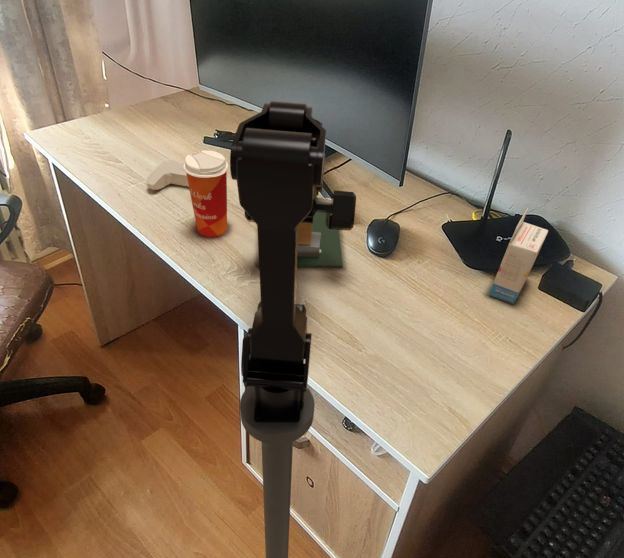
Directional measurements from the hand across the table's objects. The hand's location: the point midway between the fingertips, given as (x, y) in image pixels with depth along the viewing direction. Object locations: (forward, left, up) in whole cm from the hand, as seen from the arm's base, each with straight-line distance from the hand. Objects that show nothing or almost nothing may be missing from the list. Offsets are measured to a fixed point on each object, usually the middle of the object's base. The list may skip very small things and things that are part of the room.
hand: (302, 218), depth 98 cm
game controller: (-26, +23, -8) cm, 35 cm away
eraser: (0, 0, -7) cm, 7 cm away
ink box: (+39, -10, -8) cm, 41 cm away
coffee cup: (-18, +7, -8) cm, 21 cm away
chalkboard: (0, +7, -8) cm, 10 cm away
